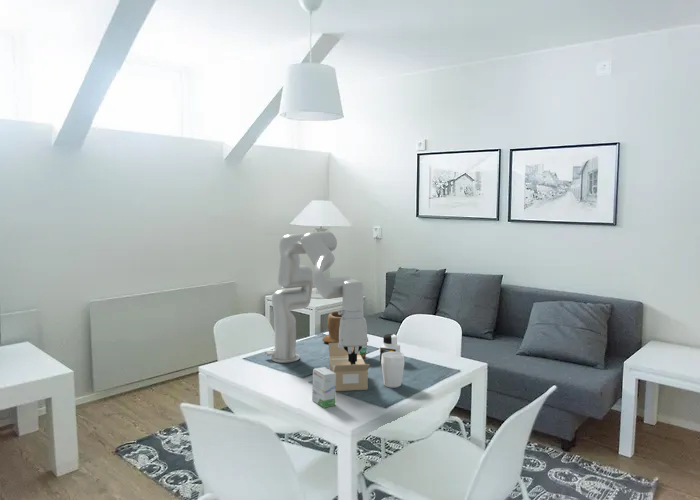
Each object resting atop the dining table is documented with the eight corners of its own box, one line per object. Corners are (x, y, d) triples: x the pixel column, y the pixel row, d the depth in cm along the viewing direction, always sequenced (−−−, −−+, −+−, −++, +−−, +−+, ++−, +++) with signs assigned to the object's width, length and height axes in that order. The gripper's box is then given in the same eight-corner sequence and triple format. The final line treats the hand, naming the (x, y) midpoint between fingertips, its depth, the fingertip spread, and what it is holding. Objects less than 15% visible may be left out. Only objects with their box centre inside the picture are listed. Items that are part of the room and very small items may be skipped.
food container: (365, 362, 236) (365, 340, 235) (351, 362, 238) (352, 339, 237) (370, 354, 248) (370, 333, 247) (357, 353, 250) (357, 332, 249)
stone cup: (340, 346, 262) (340, 316, 261) (319, 343, 267) (319, 313, 266) (353, 338, 276) (353, 310, 274) (333, 336, 281) (333, 307, 279)
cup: (397, 390, 203) (398, 359, 202) (376, 385, 208) (377, 355, 207) (408, 383, 211) (408, 353, 210) (387, 379, 216) (388, 350, 214)
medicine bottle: (379, 362, 237) (380, 336, 236) (384, 358, 243) (385, 332, 242) (395, 364, 234) (395, 337, 233) (400, 360, 241) (400, 333, 239)
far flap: (328, 343, 224) (328, 343, 224) (329, 355, 220) (329, 356, 220) (358, 342, 225) (358, 342, 226) (360, 354, 221) (359, 355, 222)
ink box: (311, 400, 193) (311, 368, 192) (324, 397, 196) (324, 366, 195) (323, 408, 186) (323, 375, 185) (336, 405, 189) (336, 372, 188)
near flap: (334, 370, 201) (334, 371, 201) (335, 365, 196) (335, 366, 196) (367, 369, 203) (367, 370, 203) (369, 363, 198) (369, 365, 198)
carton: (333, 391, 202) (333, 370, 202) (328, 375, 220) (328, 355, 219) (367, 389, 204) (367, 368, 203) (360, 373, 222) (360, 354, 221)
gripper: (333, 317, 190) (333, 367, 192) (374, 315, 192) (374, 365, 194) (331, 312, 198) (331, 361, 200) (371, 311, 200) (371, 359, 202)
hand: (352, 363), depth 197 cm, fingers closed
